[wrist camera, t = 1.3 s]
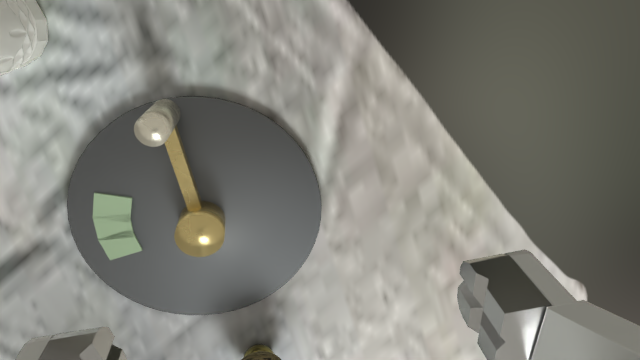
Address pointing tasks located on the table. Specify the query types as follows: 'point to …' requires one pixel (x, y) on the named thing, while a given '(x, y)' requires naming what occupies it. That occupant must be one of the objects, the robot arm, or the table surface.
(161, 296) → the dial
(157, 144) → the needle
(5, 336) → the table surface
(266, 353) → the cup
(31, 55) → the white cup
